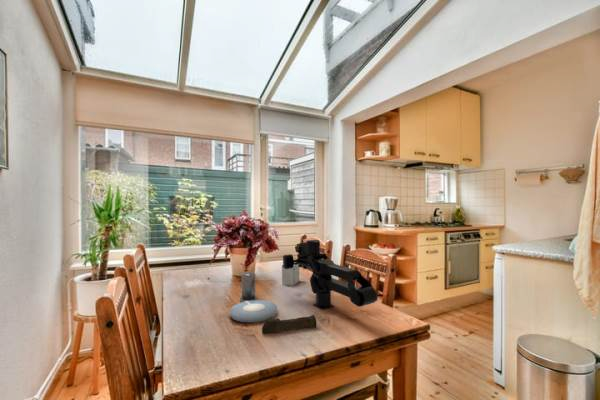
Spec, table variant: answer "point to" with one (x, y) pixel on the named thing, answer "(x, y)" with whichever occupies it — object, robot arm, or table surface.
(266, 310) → the turntable
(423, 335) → the table surface
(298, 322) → the hand tool
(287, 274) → the light bulb box
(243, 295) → the dark grey cylinder
